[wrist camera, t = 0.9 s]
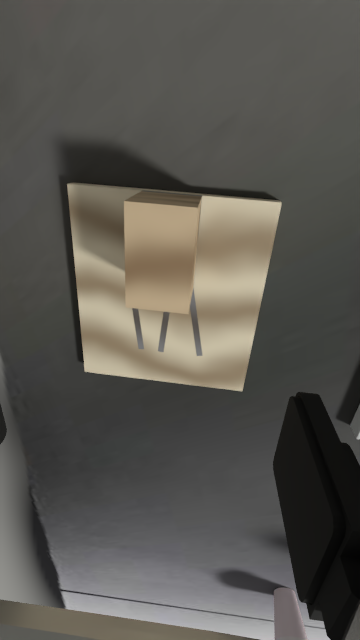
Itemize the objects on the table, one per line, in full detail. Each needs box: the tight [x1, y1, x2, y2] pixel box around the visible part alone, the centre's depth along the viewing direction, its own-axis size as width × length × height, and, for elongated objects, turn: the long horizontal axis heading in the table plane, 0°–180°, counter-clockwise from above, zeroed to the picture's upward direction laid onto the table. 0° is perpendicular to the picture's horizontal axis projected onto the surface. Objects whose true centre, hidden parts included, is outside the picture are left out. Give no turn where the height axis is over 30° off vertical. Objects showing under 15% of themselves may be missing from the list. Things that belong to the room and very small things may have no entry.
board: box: [67, 183, 282, 391], centre depth 32 cm, size 20×18×1 cm
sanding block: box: [124, 190, 202, 314], centre depth 26 cm, size 8×5×6 cm, turn 176°
